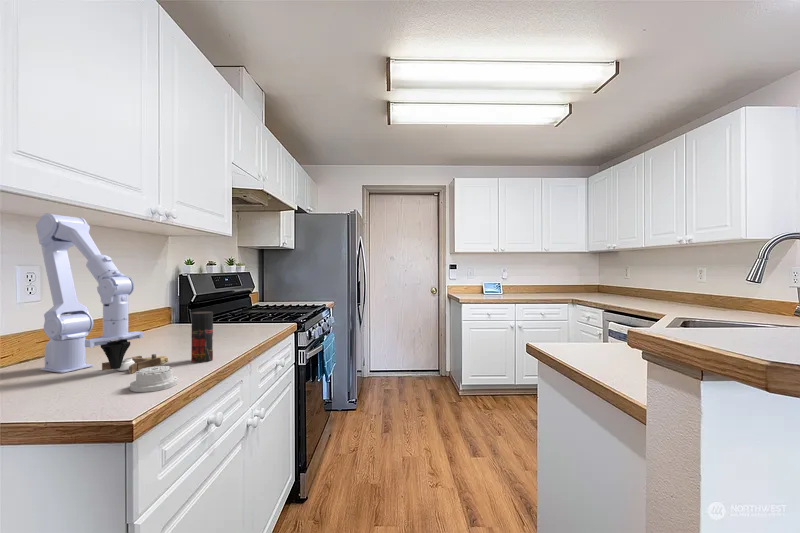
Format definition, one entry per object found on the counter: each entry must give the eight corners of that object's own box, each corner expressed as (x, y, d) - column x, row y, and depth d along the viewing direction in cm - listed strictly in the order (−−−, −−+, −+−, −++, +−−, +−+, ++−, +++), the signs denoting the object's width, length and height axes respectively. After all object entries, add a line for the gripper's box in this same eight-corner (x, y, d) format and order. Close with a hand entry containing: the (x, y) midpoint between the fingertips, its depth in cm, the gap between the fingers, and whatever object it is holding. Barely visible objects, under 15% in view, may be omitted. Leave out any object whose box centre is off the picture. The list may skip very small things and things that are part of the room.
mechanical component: (118, 391, 91) (154, 394, 88) (119, 373, 91) (154, 375, 88) (154, 379, 100) (187, 382, 98) (154, 362, 100) (187, 365, 98)
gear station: (100, 370, 108) (100, 361, 108) (150, 358, 123) (150, 350, 123) (130, 374, 105) (130, 365, 105) (179, 361, 119) (179, 353, 119)
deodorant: (189, 360, 120) (189, 312, 120) (209, 357, 124) (209, 311, 124) (194, 363, 116) (194, 314, 116) (215, 360, 120) (215, 312, 120)
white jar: (119, 367, 111) (111, 372, 106) (119, 357, 111) (111, 361, 106) (139, 366, 112) (131, 371, 108) (139, 356, 112) (131, 360, 108)
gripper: (98, 323, 99) (97, 376, 98) (150, 316, 112) (150, 363, 112) (79, 322, 101) (79, 374, 101) (133, 315, 115) (133, 361, 114)
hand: (115, 368), depth 107 cm, fingers closed
